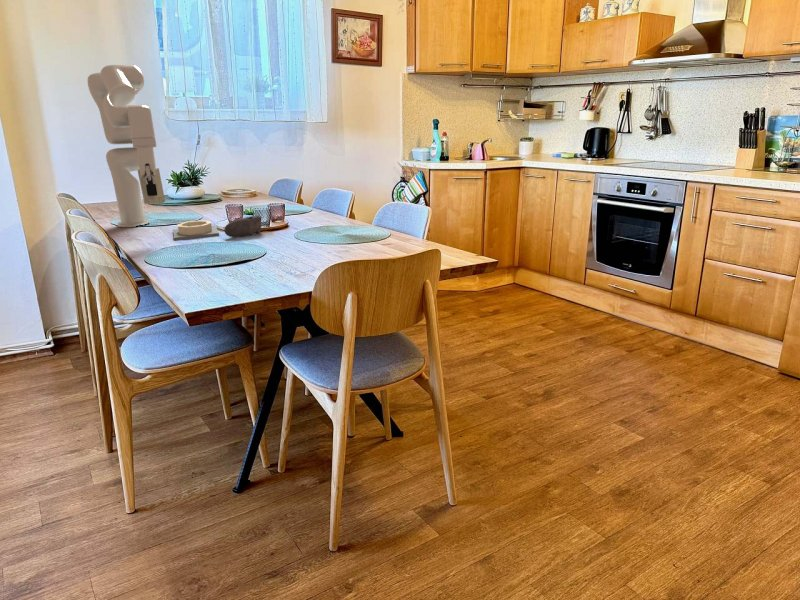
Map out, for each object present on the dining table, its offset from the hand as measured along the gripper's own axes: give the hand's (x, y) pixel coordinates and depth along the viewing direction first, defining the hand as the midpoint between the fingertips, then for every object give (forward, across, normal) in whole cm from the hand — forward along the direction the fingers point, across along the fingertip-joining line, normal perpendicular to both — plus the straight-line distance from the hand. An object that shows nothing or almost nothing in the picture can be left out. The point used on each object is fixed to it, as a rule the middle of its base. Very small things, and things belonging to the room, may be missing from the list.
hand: (152, 193), depth 202 cm
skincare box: (+4, 0, 0) cm, 4 cm away
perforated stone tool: (+18, +6, +30) cm, 35 cm away
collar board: (+17, -7, +13) cm, 23 cm away
